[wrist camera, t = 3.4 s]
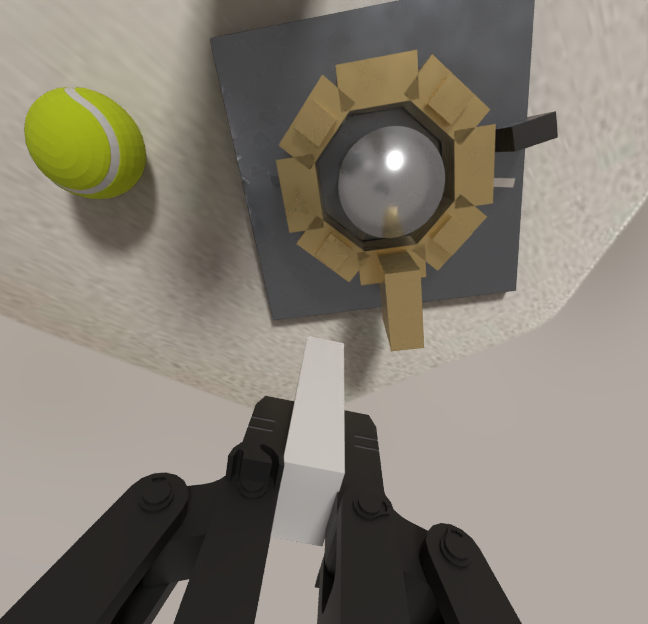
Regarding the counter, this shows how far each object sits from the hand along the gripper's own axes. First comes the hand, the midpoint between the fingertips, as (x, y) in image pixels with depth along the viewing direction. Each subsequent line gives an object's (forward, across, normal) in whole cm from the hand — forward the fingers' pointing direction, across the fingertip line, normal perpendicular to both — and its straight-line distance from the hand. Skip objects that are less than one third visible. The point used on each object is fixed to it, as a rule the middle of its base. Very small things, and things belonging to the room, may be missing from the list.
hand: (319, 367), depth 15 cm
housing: (+16, +2, +7) cm, 18 cm away
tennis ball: (+16, -17, +6) cm, 24 cm away
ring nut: (+15, +3, +6) cm, 16 cm away
